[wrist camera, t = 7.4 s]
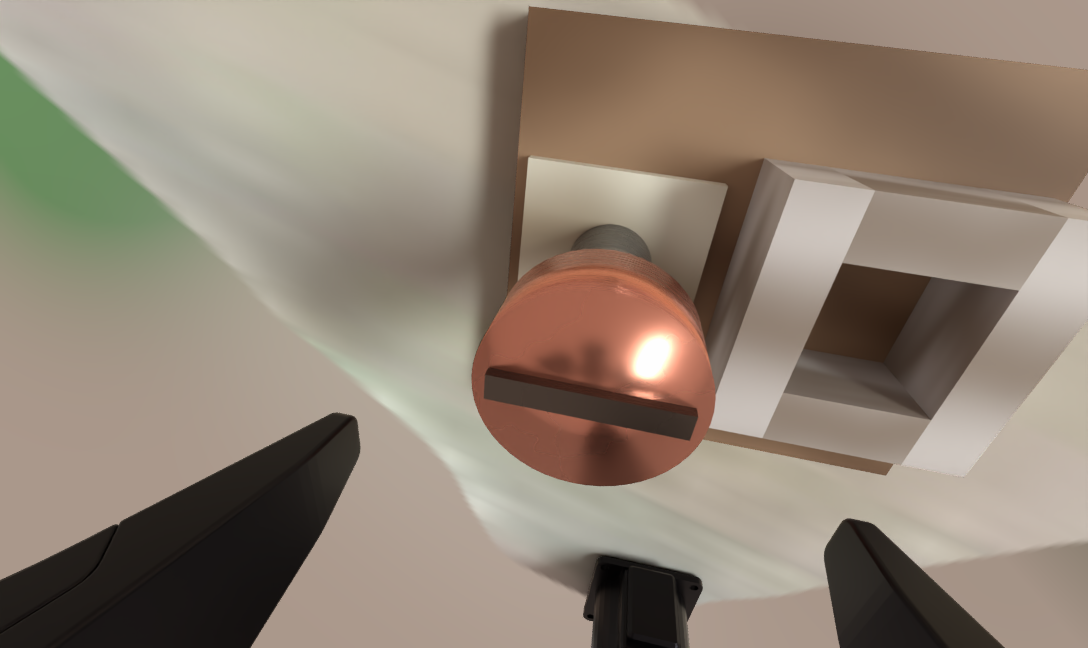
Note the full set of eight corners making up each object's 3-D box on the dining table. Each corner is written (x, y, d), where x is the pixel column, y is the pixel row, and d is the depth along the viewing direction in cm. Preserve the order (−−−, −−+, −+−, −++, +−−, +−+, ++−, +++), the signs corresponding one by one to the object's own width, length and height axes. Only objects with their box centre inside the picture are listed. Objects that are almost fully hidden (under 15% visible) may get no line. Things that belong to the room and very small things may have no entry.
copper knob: (702, 204, 16) (754, 324, 9) (664, 339, 19) (679, 515, 12) (546, 180, 17) (470, 273, 9) (531, 314, 20) (464, 468, 12)
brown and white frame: (871, 451, 22) (927, 543, 18) (506, 381, 24) (478, 449, 20) (1105, 76, 14) (1304, 79, 10) (537, 11, 16) (501, -10, 12)
